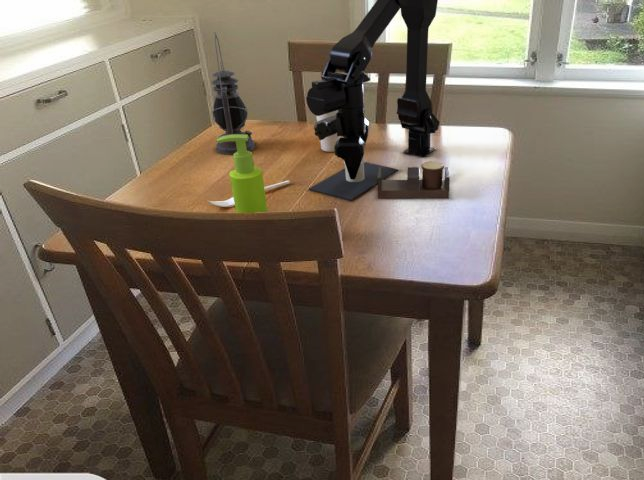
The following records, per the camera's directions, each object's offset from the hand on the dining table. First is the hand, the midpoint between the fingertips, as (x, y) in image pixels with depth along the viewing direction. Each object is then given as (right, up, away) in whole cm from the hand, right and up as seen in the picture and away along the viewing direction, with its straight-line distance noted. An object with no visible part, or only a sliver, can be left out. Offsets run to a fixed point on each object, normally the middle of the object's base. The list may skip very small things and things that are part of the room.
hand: (354, 171), depth 126 cm
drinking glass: (-8, +9, +20) cm, 23 cm away
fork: (-23, -7, -5) cm, 24 cm away
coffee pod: (0, -2, +1) cm, 2 cm away
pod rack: (+13, -6, -6) cm, 16 cm away
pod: (+18, -4, -7) cm, 19 cm away
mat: (0, -2, +1) cm, 2 cm away
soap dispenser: (-19, -16, -21) cm, 32 cm away
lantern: (-34, +10, +22) cm, 42 cm away
